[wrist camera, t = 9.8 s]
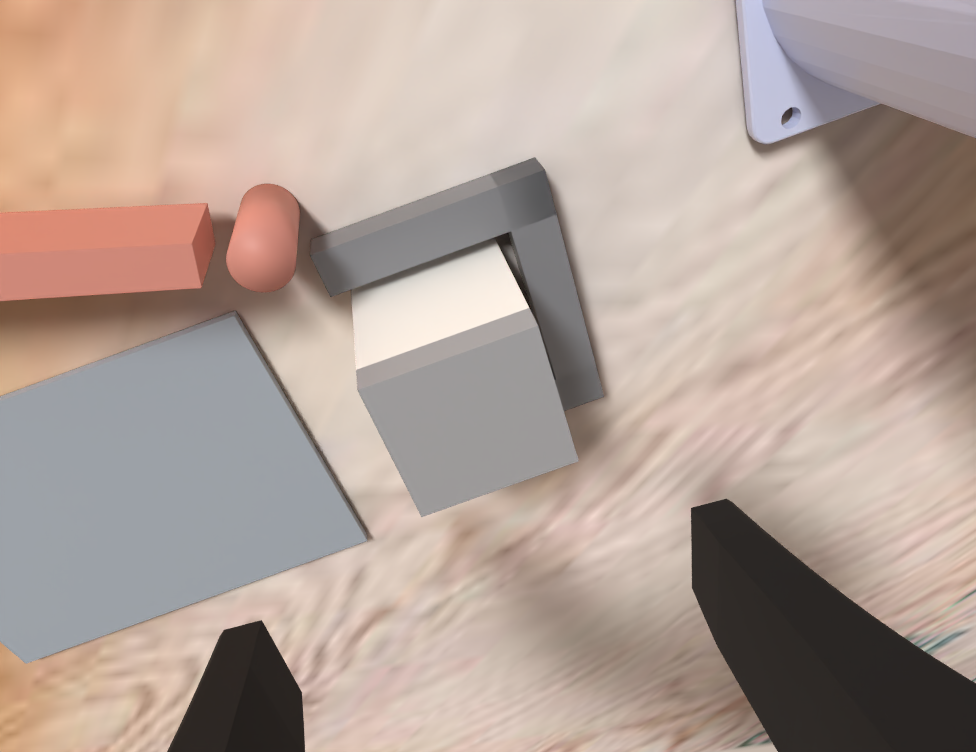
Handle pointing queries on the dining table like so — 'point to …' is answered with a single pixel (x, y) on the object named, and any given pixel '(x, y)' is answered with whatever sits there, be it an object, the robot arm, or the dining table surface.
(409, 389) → the plug
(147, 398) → the slate mat
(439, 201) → the bracket
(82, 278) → the pink flat bar
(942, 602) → the dining table surface
